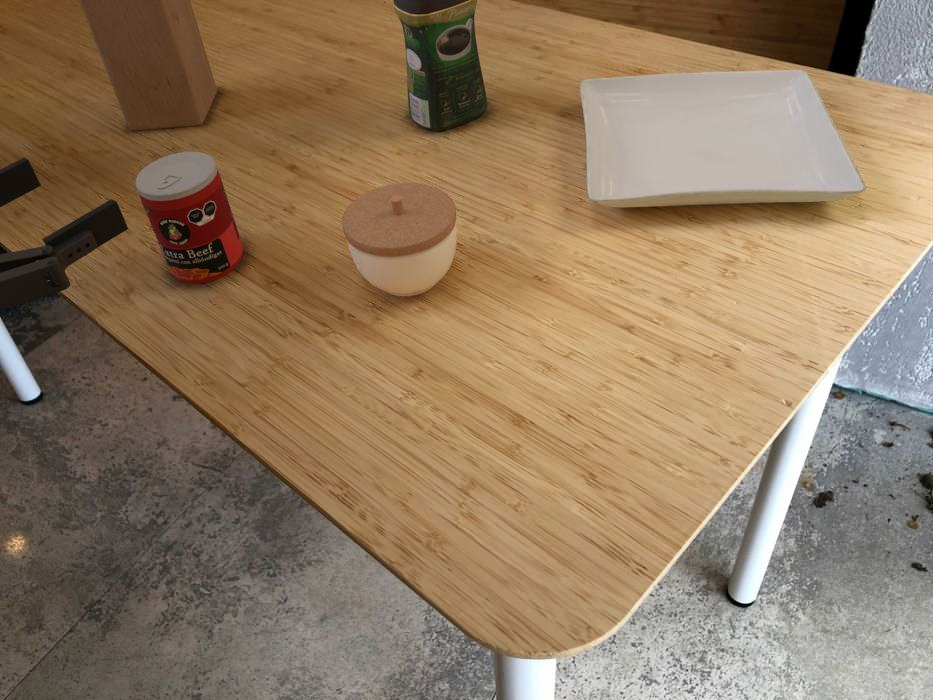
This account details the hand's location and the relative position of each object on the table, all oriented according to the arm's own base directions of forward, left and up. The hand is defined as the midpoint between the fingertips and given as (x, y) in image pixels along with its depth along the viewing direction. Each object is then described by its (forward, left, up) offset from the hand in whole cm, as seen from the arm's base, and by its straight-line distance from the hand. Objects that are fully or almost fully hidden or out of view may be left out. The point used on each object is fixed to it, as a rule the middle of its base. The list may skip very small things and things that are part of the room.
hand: (74, 191), depth 74 cm
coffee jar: (+26, +40, -14) cm, 49 cm away
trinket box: (+27, +6, -14) cm, 31 cm away
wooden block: (-12, +41, -14) cm, 46 cm away
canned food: (+5, +8, -14) cm, 18 cm away
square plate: (+57, +29, -14) cm, 66 cm away
